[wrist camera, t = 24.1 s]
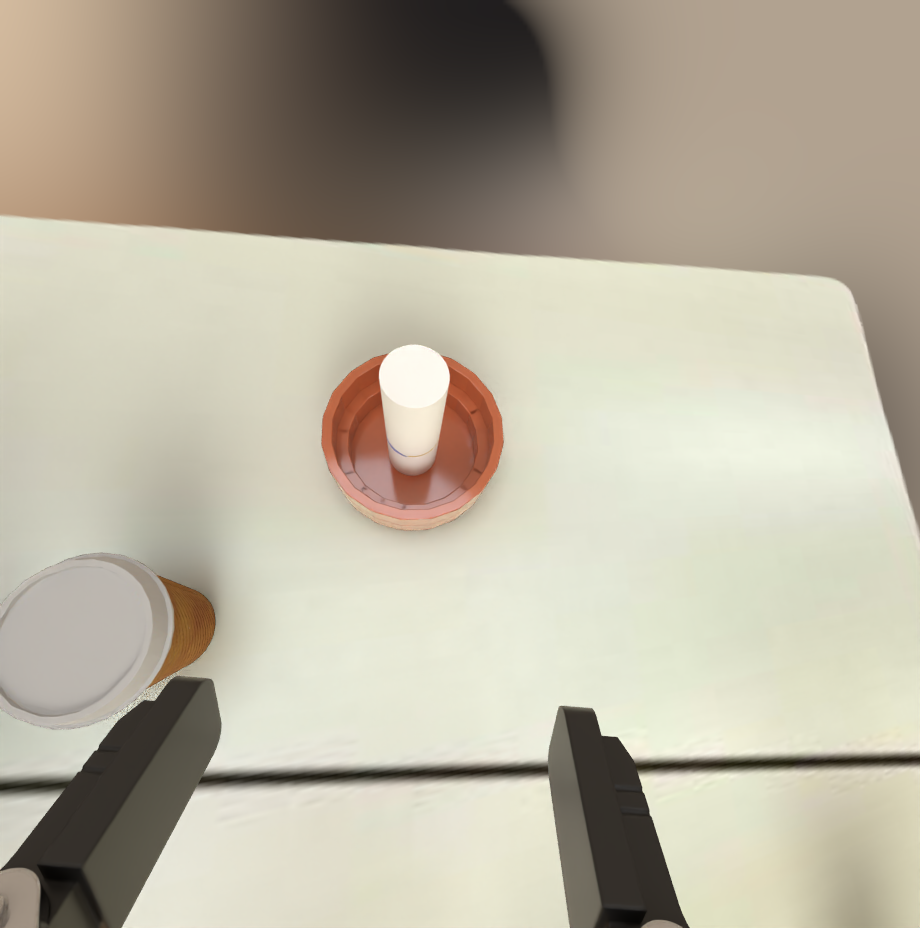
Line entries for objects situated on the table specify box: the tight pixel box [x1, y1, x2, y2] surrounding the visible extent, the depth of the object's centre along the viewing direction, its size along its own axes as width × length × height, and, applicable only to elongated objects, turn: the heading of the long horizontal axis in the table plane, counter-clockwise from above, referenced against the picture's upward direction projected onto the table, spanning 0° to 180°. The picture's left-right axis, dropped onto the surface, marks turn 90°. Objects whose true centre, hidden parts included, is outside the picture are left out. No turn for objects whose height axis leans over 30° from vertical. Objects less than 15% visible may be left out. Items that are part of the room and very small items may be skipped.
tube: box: [379, 345, 450, 476], centre depth 35 cm, size 4×4×15 cm
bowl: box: [321, 354, 504, 530], centre depth 40 cm, size 15×15×6 cm
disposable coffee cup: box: [0, 553, 215, 729], centre depth 31 cm, size 10×10×12 cm
